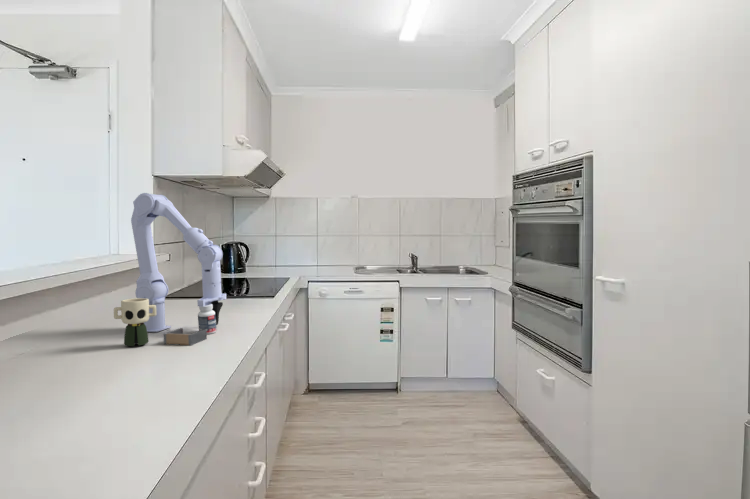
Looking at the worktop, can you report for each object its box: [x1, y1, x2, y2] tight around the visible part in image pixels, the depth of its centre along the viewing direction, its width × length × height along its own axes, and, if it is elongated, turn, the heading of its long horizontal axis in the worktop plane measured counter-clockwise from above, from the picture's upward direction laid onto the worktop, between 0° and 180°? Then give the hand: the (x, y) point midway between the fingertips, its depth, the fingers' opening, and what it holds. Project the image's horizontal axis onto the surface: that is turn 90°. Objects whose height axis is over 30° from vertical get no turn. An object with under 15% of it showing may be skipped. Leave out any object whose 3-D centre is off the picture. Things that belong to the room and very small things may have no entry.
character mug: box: [113, 297, 157, 347], centre depth 141 cm, size 11×7×13 cm, turn 114°
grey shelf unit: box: [163, 327, 208, 346], centre depth 146 cm, size 9×8×3 cm
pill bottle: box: [197, 303, 217, 335], centre depth 157 cm, size 5×5×9 cm
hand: (213, 325), depth 160 cm, fingers closed, pressing on pill bottle
